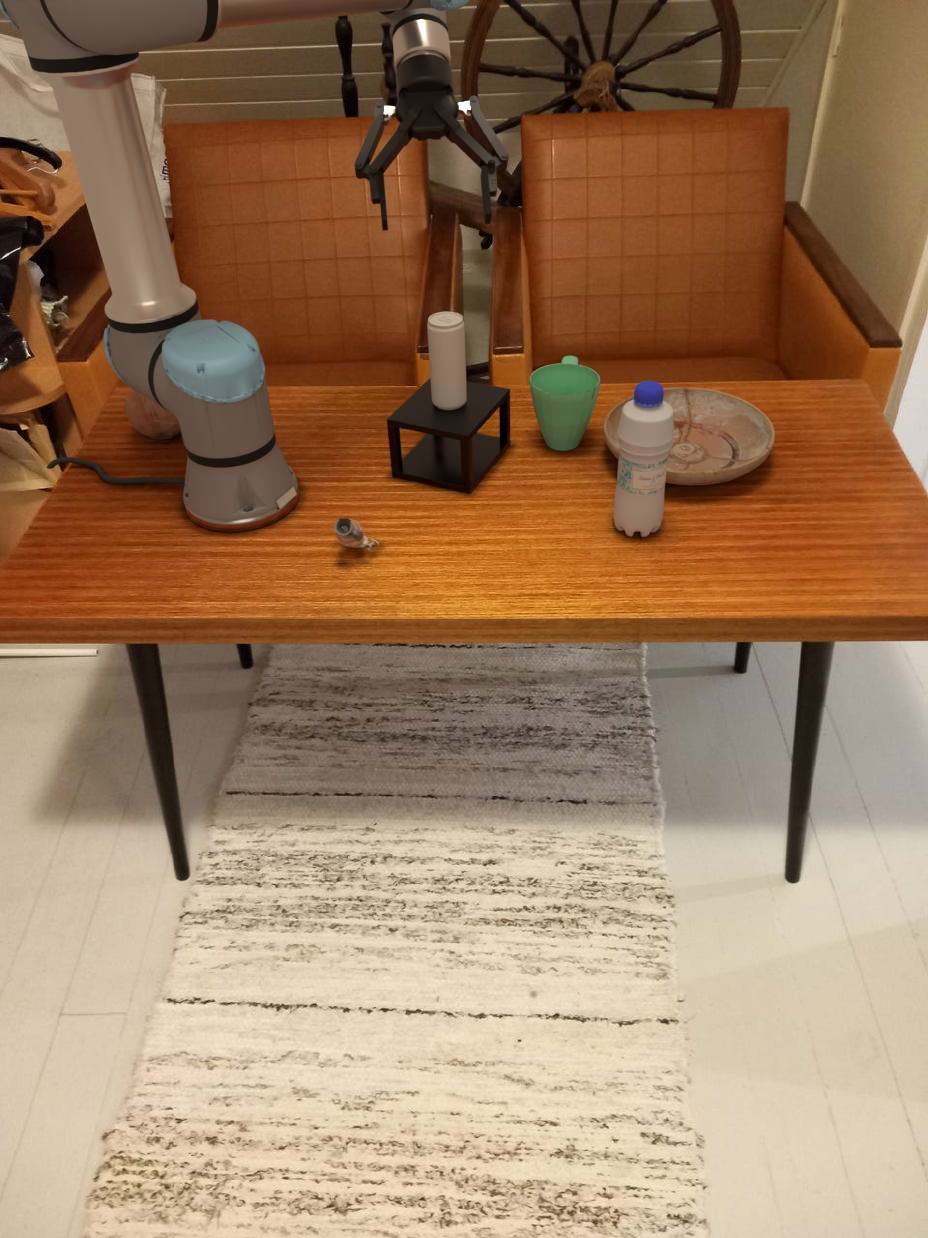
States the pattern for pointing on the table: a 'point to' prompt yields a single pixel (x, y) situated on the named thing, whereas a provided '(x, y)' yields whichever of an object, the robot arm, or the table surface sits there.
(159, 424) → the onion
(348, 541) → the seashell
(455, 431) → the rack
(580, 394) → the mug
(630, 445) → the bottle
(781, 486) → the table surface
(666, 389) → the ceramic bowl
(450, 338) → the beverage can
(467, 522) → the table surface
